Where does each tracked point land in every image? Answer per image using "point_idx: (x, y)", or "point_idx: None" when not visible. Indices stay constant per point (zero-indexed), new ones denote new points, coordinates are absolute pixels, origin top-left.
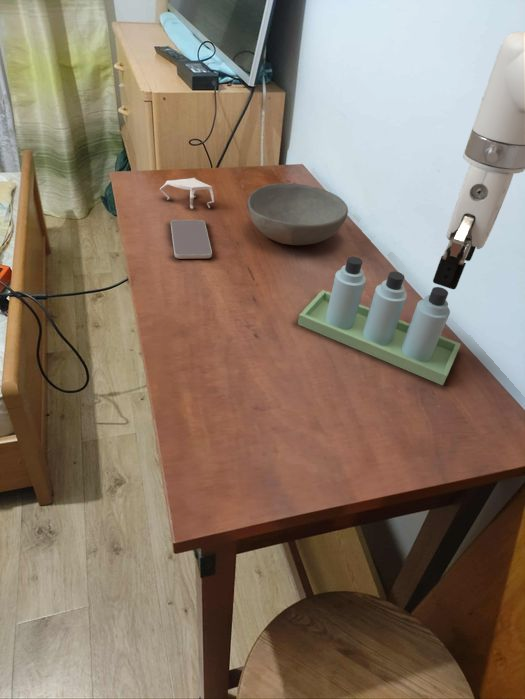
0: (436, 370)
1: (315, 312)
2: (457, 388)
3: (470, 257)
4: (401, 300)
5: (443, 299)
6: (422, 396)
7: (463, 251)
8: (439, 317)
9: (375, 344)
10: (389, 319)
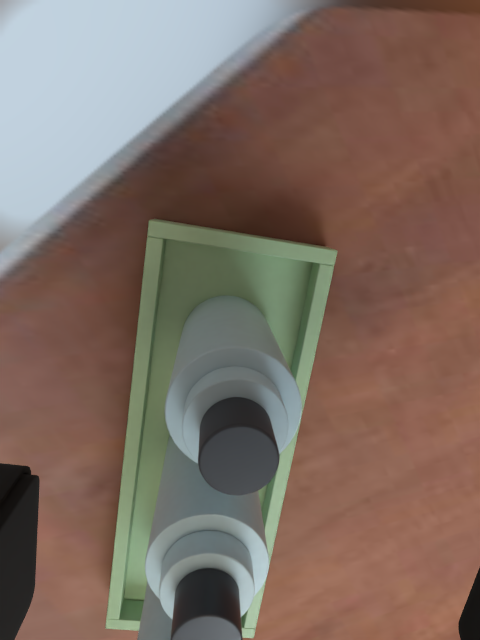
0: (326, 283)
1: None
2: (319, 204)
3: (22, 490)
4: (246, 526)
5: (269, 425)
6: (389, 293)
7: (6, 580)
8: (295, 383)
9: (285, 455)
10: None
